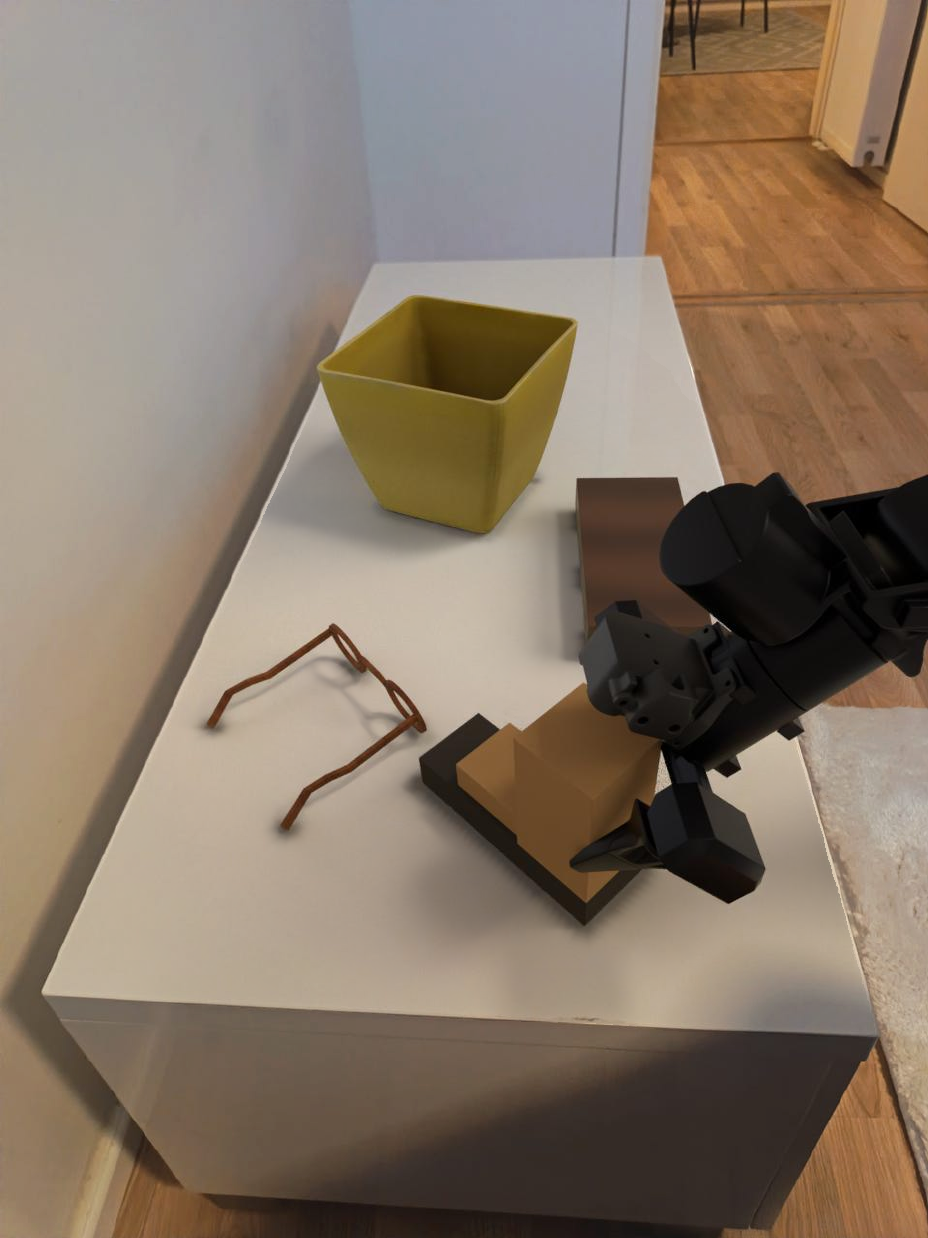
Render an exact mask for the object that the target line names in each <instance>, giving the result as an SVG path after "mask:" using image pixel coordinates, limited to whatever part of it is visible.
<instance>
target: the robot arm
mask: <svg viewBox="0 0 928 1238" xmlns="http://www.w3.org/2000/svg"><path fill="white" fill-rule="evenodd" d="M659 559H660V567H661V570H662V572H663V573H664V575H665V576H666V577H667V578H668V579H669V580H670V581H671V582H672V583H673V584H675V585H676V586H677V587H678V588H679V589H681V590H682V591H683V592H684V593H686V594H687V595H688V596H689V597H690V598H692V599H693V600H694V601H695V602H696V603H698V604H699V605H700V606H701V607H703V608H704V609H705V610H706V611H707V612H709V613H710V616H712V617H713V618H714V619H716V620H717V621H715V622H714V623H712V625H709V624H708V625H705V626H703V627H702V628H701V629H699V630H698V631H696V632H694V633H692V634H689V635H687V636H684V635H682V634H679V633H678V632H677V631H675V630H674V629H673V628H672V627H670V626H669V625H668V624H666V623H665V622H664V621H663V620H661V619H660V618H659V617H658V616H656V615H655V614H654V613H652V612H651V611H650V610H649V609H647V608H646V607H645V606H643V605H642V604H641V603H640V602H638V601H637V600H625V601H615V602H614V603H613V604H611V605H610V606H609V607H607V608H606V609H605V610H604V611H602V612H601V613H600V614H598V615H597V616H596V617H594V620H595V624H596V627H597V629H596V630H595V631H594V633H593V634H592V636H591V637H590V639H589V640H588V641H587V643H586V642H585V644H584V646H583V647H582V648H581V650H580V652H579V653H578V662H579V664H580V666H582V668H583V672H584V677H585V680H586V681H585V682H586V684H587V695H588V698H589V701H590V702H591V704H592V705H593V706H594V707H595V708H596V709H597V710H598V711H600V712H601V713H604V714H606V715H610V716H614V717H615V716H619V715H621V716H625V718H626V721H627V725H628V728H629V730H630V731H631V732H633V733H637V734H641V735H645V736H649V737H653V738H657V739H660V740H661V741H663V742H662V745H661V747H660V748H661V755H662V757H663V760H664V763H665V767H666V770H667V774H668V777H669V780H670V784H669V785H667V786H666V787H663V789H661V790H659V791H658V792H655V795H654V799H653V801H652V803H651V806H649V805H647V804H646V803H644V802H642V801H641V800H639V799H637V798H636V799H635V800H634V804H633V808H632V813H631V817H630V819H629V820H628V821H627V822H626V823H624V824H622V825H621V826H619V827H618V828H616V829H614V830H613V831H611V832H609V833H608V834H606V835H605V836H603V837H601V838H600V839H598V840H597V841H595V842H593V843H592V844H590V845H588V846H587V847H585V848H584V849H582V850H581V851H580V852H579V853H578V854H576V855H575V856H574V857H573V858H572V859H570V861H569V865H570V868H572V869H574V870H576V871H578V872H581V873H586V872H603V871H621V870H638V869H642V870H664V871H665V870H667V872H669V873H671V874H673V875H674V876H676V877H678V878H680V879H682V880H684V881H685V882H687V883H688V884H691V885H692V886H694V887H696V888H698V889H700V890H701V891H704V892H705V893H707V894H708V895H711V896H712V897H714V898H716V899H717V900H720V901H721V902H723V903H725V904H727V905H731V904H732V903H734V902H736V901H738V900H739V899H742V898H744V897H745V896H748V895H750V894H752V893H753V892H755V891H756V890H757V889H758V887H759V886H760V884H761V883H762V881H763V879H764V876H765V873H766V870H767V867H766V866H765V863H764V860H763V858H762V855H761V852H760V849H759V847H758V843H757V842H756V839H755V836H754V833H753V830H752V828H751V825H750V823H749V819H748V817H747V814H746V813H745V812H744V811H741V810H740V809H739V808H738V807H736V806H734V805H732V804H731V803H730V802H728V801H727V800H725V799H723V798H722V797H720V796H719V795H717V794H716V793H714V792H713V787H712V786H711V783H710V780H709V777H708V774H707V773H708V772H710V771H712V770H715V772H717V773H719V774H720V775H721V776H723V777H724V778H726V779H728V778H729V777H731V776H733V775H734V774H736V773H739V772H740V771H742V767H741V763H740V762H739V759H738V755H739V754H741V753H742V752H744V751H746V750H747V749H749V748H750V747H753V746H754V745H756V744H757V743H759V742H761V741H762V740H764V739H765V738H767V737H768V736H770V735H772V734H774V733H775V732H776V733H778V734H779V735H780V736H781V737H783V738H784V739H786V740H787V741H788V742H790V741H791V740H793V739H795V738H796V737H798V736H800V735H802V734H803V733H805V732H806V731H805V729H804V726H803V724H802V722H801V720H800V717H801V716H803V715H805V714H806V713H808V712H810V711H811V710H812V709H815V708H816V707H818V706H819V705H821V704H822V703H824V702H826V701H827V700H829V699H831V698H833V697H834V696H836V695H837V694H839V693H841V692H842V691H844V690H845V689H847V688H849V687H850V686H852V685H854V684H855V683H857V682H859V681H860V680H862V679H864V678H865V677H867V676H869V675H870V674H872V673H873V672H875V671H877V670H878V669H880V668H882V667H883V666H884V665H886V664H888V663H889V662H891V663H892V664H893V665H894V666H895V667H896V668H897V669H898V670H899V671H900V672H902V674H903V675H904V676H906V677H907V678H916V677H918V676H919V675H920V673H921V672H922V667H923V664H924V656H925V655H924V653H925V648H926V645H927V643H928V473H927V474H925V475H922V476H919V477H916V478H914V479H911V480H910V481H907V482H904V483H903V484H901V485H900V486H897V487H890V488H885V489H880V490H873V491H868V492H862V493H857V494H851V495H846V496H839V497H834V498H829V499H822V500H817V501H812V502H808V503H807V504H804V502H803V501H802V499H801V498H800V496H799V495H798V493H797V491H796V490H795V488H794V486H793V485H792V484H791V483H790V482H789V481H788V480H787V478H785V477H784V476H783V475H782V474H781V472H779V471H775V472H771V473H770V474H769V475H767V476H766V477H764V479H762V480H761V481H759V482H758V483H757V484H756V485H753V484H749V483H745V482H731V483H727V484H724V485H720V486H717V487H715V488H712V489H711V490H709V491H706V490H702V491H701V492H699V493H697V495H695V496H694V497H692V498H691V499H690V500H689V501H688V502H687V503H685V504H684V507H683V508H682V509H681V510H680V511H679V512H678V514H677V515H676V516H675V517H674V519H673V520H672V522H671V523H670V525H669V527H668V528H667V530H666V532H665V535H664V537H663V540H662V542H661V547H660V553H659Z"/></svg>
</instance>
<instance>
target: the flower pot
mask: <svg viewBox="0 0 928 1238" xmlns="http://www.w3.org/2000/svg"><path fill="white" fill-rule="evenodd" d="M578 325H579V322H578V320H576V318H573V317H568V316H563V315H555V314H550V313H542V312H536V311H530V310H523V309H517V308H509V307H504V306H497V305H492V304H491V305H490V304H483V303H477V302H471V301H465V300H457V299H449V298H443V297H436V296H429V295H424V294H414V295H410V296H407V297H405V298H404V299H402V300H401V301H400V302H399V303H398V304H397V305H395V306H393V308H391V309H389V310H388V311H387V312H385V313H384V314H383V315H382V316H380V317H379V318H378V319H376V320H375V321H373V322H372V323H371V324H369V325H368V326H367V327H365V328H364V329H363V330H361V331H360V332H359V333H357V334H356V335H355V336H353V337H352V338H351V339H349V340H348V341H346V342H345V343H344V344H343V345H341V346H340V347H339V348H338V349H336V350H335V351H333V352H332V353H331V354H329V355H328V356H327V357H325V358H324V359H322V360H321V361H320V362H319V363H318V364H317V365H316V370H317V373H318V376H319V379H320V382H321V386H322V388H323V392H324V394H325V397H326V401H327V402H328V405H329V408H330V410H331V414H332V415H333V418H334V420H335V422H336V426H337V429H338V430H339V432H340V435H341V436H342V439H343V441H344V444H345V445H346V447H347V450H348V452H349V453H350V455H351V457H352V459H353V461H354V463H355V464H356V467H357V468H358V471H359V472H360V474H361V475H362V477H363V479H364V481H365V483H366V484H367V486H368V487H369V489H370V491H371V492H372V494H373V495H374V497H375V498H376V500H377V501H378V503H379V504H380V506H381V507H382V508H383V509H385V510H387V511H391V512H395V513H399V514H403V515H406V516H410V517H414V518H418V519H422V520H426V521H430V522H434V523H437V524H440V525H441V524H442V525H444V526H448V527H449V526H450V527H452V528H457V529H461V530H465V531H469V532H472V533H477V534H487V533H489V532H491V531H493V529H494V528H495V527H496V526H497V525H498V523H499V522H500V520H501V519H503V517H504V516H505V514H506V513H507V511H508V510H509V509H510V508H511V506H512V505H513V504H514V502H516V500H517V499H518V497H519V496H520V495H521V494H522V493H523V491H524V490H525V488H527V486H528V485H529V484H530V482H531V481H532V480H533V479H534V477H535V475H536V473H537V470H538V468H539V466H540V463H541V461H542V458H543V456H544V453H545V451H546V448H547V445H548V443H549V439H550V436H551V433H552V432H553V427H554V425H555V421H556V418H557V416H558V413H559V412H558V411H559V408H560V405H561V402H562V398H563V395H564V391H565V386H566V383H567V379H568V375H569V371H570V366H571V362H572V357H573V353H574V347H575V343H576V337H577V331H578Z"/></svg>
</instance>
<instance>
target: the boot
mask: <svg viewBox="0 0 928 1238" xmlns="http://www.w3.org/2000/svg"><path fill="white" fill-rule="evenodd" d="M662 742H663V741H661V740H660V739H657V738H653V737H649V736H645V735H641V734H637V733H633V732H631V731H630V730H629V728H628V725H627V721H626V718H625V716H621V715H619V716H615V717H614V716H610V715H606V714H604V713H601V712H600V711H598V710H597V709H596V708H595V707H594V706H593V705H592V704H591V702H590V701H589V698H588V695H587V683H585V682H582V683H580V684H579V685H578V686H577V687H575V688H574V689H573V690H572V691H570V692H569V693H568V694H567V695H565V696H564V697H563V698H561V700H559V701H558V702H556V703H555V704H554V705H553V706H552V707H550V708H549V709H548V710H547V711H546V712H544V713H543V714H542V715H541V716H539V717H537V719H535V720H534V721H532V723H530V724H529V725H528V726H526V727H525V728H524V729H523V730H520V728H518V727H517V726H515V725H514V724H513V723H511V722H508V723H507V724H505V725H504V726H503V727H502V728H499V727H498V726H496V725H495V724H494V723H493V722H491V721H490V720H489V719H487V718H486V717H485V716H484V715H482V714H481V713H480V712H478V713H476V714H475V715H474V716H472V717H471V718H469V719H468V720H467V721H465V722H464V723H463V724H462V725H460V726H459V727H458V728H456V729H455V730H454V731H453V732H451V733H450V734H448V735H447V736H445V738H443V739H441V740H440V741H439V742H438V743H436V744H435V745H434V746H432V747H431V748H429V750H427V751H426V752H424V753H423V754H422V755H421V756H419V757H418V762H419V769H420V775H421V781H422V784H424V785H425V786H426V787H427V788H428V789H429V790H430V791H431V792H433V793H434V794H435V795H436V796H437V797H438V798H439V799H440V800H441V801H443V802H444V803H445V804H446V805H447V806H448V807H450V808H451V809H452V810H453V811H454V812H455V813H456V814H457V815H458V816H460V817H461V818H462V819H463V820H464V821H465V822H466V823H468V824H469V825H470V826H471V827H472V828H473V829H474V830H475V831H477V833H479V834H480V835H481V836H482V837H483V838H484V839H485V840H486V841H487V842H489V843H490V844H491V845H492V846H493V847H494V848H495V849H497V850H498V852H500V853H501V854H502V855H504V857H506V858H507V859H508V860H509V861H510V862H511V863H512V864H513V865H514V866H516V867H517V868H518V869H519V870H520V871H522V872H523V873H524V875H526V876H527V877H528V878H529V879H530V880H531V881H532V882H534V883H535V884H536V885H537V886H538V887H539V888H540V889H542V890H543V891H544V892H545V893H546V894H547V895H548V896H549V897H551V899H553V900H554V901H555V902H556V903H557V904H558V905H560V907H562V908H563V909H564V910H565V911H566V912H567V913H569V914H570V915H571V916H572V917H573V918H574V919H575V920H576V921H577V922H578V923H580V924H581V925H582V926H583V927H587V925H588V924H589V923H591V921H592V920H593V919H594V918H595V917H596V916H597V915H598V914H599V913H600V912H601V911H602V910H603V909H604V908H605V907H606V906H607V905H608V904H609V903H610V902H611V901H612V900H613V899H614V898H615V897H617V895H618V894H619V893H620V892H621V891H622V890H623V889H624V888H625V887H626V886H627V885H628V884H629V883H630V882H632V881H633V879H634V878H636V876H637V875H638V874H639V873H640V872H641V871H642V870H643V869H638V870H621V871H603V872H586V873H581V872H578V871H576V870H574V869H572V868H570V865H569V861H570V859H572V858H573V857H574V856H575V855H576V854H578V853H579V852H580V851H581V850H582V849H584V848H585V847H587V846H588V845H590V844H592V843H593V842H595V841H597V840H598V839H600V838H601V837H603V836H605V835H606V834H608V833H609V832H611V831H613V830H614V829H616V828H618V827H619V826H621V825H622V824H624V823H626V822H627V821H628V820H629V819H630V817H631V813H632V808H633V804H634V800H635V799H636V798H637V799H639V800H641V801H642V802H644V803H646V804H647V805H649V806H651V803H652V801H653V799H654V796H655V794H656V789H657V783H658V782H657V780H658V775H659V769H660V760H661V755H662V751H661V748H660V747H661V745H662Z"/></svg>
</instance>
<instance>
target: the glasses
mask: <svg viewBox="0 0 928 1238" xmlns="http://www.w3.org/2000/svg"><path fill="white" fill-rule="evenodd" d="M331 637H332V639H333V641H334V642H335V644H336V646H337V647H338V649H339V650H340V651H341V653H342V655H344V657H345V658H346V659H347V661H348V662H349V663H350V664H351V665H352V666H353V667H354V669H356V670H357V671H358V672H359V673H361V674H364V673H366V672H367V671H369V672H370V673H371V674H372V675H373V676H374V677H375V678H376V679H377V680H378V681H379V682H380V683H381V684H382V685H383V687H384V688H385V690H386V692H387V694H388V696H389V698H390V699H391V701H392V703H393V704H394V706H395V708H396V709H397V710H398V712H399V713H400V714H401V716H402V717H403V718H404V721H402V722H400V723H399V724H398V725H397V726H395V727H394V728H393V729H392V730H390V731H389V732H387V733H386V734H385V735H383V736H382V737H381V738H380V739H378V740H377V741H376V742H374V743H373V744H371V746H369V747H368V748H367V749H365V750H363V752H361V753H360V754H359V755H357V756H356V757H355V758H354V759H352V760H351V761H349V762H348V763H347V764H345V765H343V766H341V767H339V768H336V769H335V770H332V771H329V772H328V773H325V774H324V775H322V776H320V777H319V778H317V779H316V780H314V781H312V782H311V783H309V784H308V785H306V786H305V787H303V788H302V789H301V792H300V793H299V795H298V796H297V798H296V799H295V801H294V803H293V804H292V806H291V808H290V809H289V811H288V812H287V813H286V816H285V817H284V819H283V820H282V822H281V823H280V825H279V826H280V828H281V829H283V830H287V831H289V830H290V828H291V827H292V826H293V824H294V822H295V820H296V819H297V817H298V816H299V814H300V812H301V811H302V809H303V808H304V807H305V805H306V803H307V801H308V800H309V798H310V797H311V795H312V794H313V793H314V792H316V791H317V790H319V789H321V788H322V787H324V786H326V785H328V784H330V783H331V782H333V781H335V780H337V779H340V778H342V777H344V776H346V775H348V774H351V773H352V772H354V771H355V770H356V769H358V767H360V766H362V765H363V764H364V763H365V762H367V761H368V760H369V759H371V758H372V757H373V756H374V755H376V754H377V753H378V752H380V751H381V750H382V749H384V748H385V747H387V746H388V745H389V744H390V743H391V742H392V741H394V740H395V739H397V738H398V737H399V736H400V735H402V734H403V733H404V732H406V731H407V730H408V729H409V728H411V727H412V728H413V729H414V730H416V731H417V732H418V733H420V734H424V733H425V732H426V731H427V729H428V728H427V725H426V722H425V720H424V717H423V716H422V714H421V712H420V711H419V709H418V708H417V706H416V705H415V703H414V702H413V700H412V699H411V698H410V697H409V696H408V695H407V693H405V691H404V690H403V689H402V688H401V687H400V686H399V685H398V684H397V683H395V682H394V681H393V680H392V679H386V677H385V676H384V675H383V674H382V673H381V672H380V671H379V670H378V668H376V667H375V666H374V665H373V663H371V661H369V659H367V658H366V657H365V656H363V655H362V653H361V651H360V650H359V649H358V648H357V646H356V645H355V644H354V642H353V640H352V639H350V637H349V636H348V635H347V634H346V632H344V630H343V629H342V628H340V627H339V625H337V624H336V623H334V622H331V623H330V624H329V625H328V628H326V629H325V630H324V631H322V632H321V633H319V634H318V635H317V636H315V637H313V638H312V639H311V640H310V641H309V642H306V643H305V644H304V645H302V646H301V647H300V648H298V649H296V650H295V651H293V652H292V653H291V654H289V655H288V656H287V657H285V658H284V659H283V660H281V661H280V662H278V663H277V664H275V665H274V666H273V667H271V668H269V669H268V670H266V671H265V672H262V673H258V674H256V675H253V676H251V677H248V678H245V679H244V680H242V681H240V682H238V683H236V684H235V685H233V686H231V687H229V688H227V689H226V690H224V691H223V693H222V695H221V697H220V700H219V701H218V703H217V704H216V706H215V708H214V709H213V711H212V713H211V715H210V717H209V718H208V720H207V722H206V726H207V727H211V728H215V727H216V725H218V722H219V720H220V718H221V717H222V715H223V713H224V712H225V710H226V708H227V706H228V704H229V703H230V701H231V700H232V698H233V696H234V695H236V694H237V693H239V692H242V691H244V690H245V689H248V688H249V687H252V686H253V685H254V686H255V685H256V684H259V683H262V682H265V681H268V680H271V679H272V678H274V677H276V676H277V675H278V674H279V673H281V672H283V671H284V670H285V669H287V668H288V667H290V666H291V665H292V664H294V663H295V662H297V661H299V660H300V659H302V657H304V656H305V655H307V654H309V653H310V652H311V651H312V650H314V649H315V648H317V647H318V646H320V645H321V644H322V643H324V642H326V641H327V640H328V639H329V638H331ZM340 638H341V639H342V640H343V641H344V643H345V644H346V645H347V647H348V648H349V649H350V651H351V653H353V655H354V657H355V658H354V657H353V656H352V654H351V653H350V652H349V651H348V649H347V647H346V646H345V645H344V643H343V642H342V640H341V639H340ZM396 694H397V695H396ZM398 696H399V697H400V698H401V700H402V701H403V702H404V703H405V705H406V706H407V707H408V708H409V710H410V712H411V713H412V714H409V712H408V711H407V710H406V709H405V707H404V706H403V705H402V703H401V702H400V699H398Z"/></svg>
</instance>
